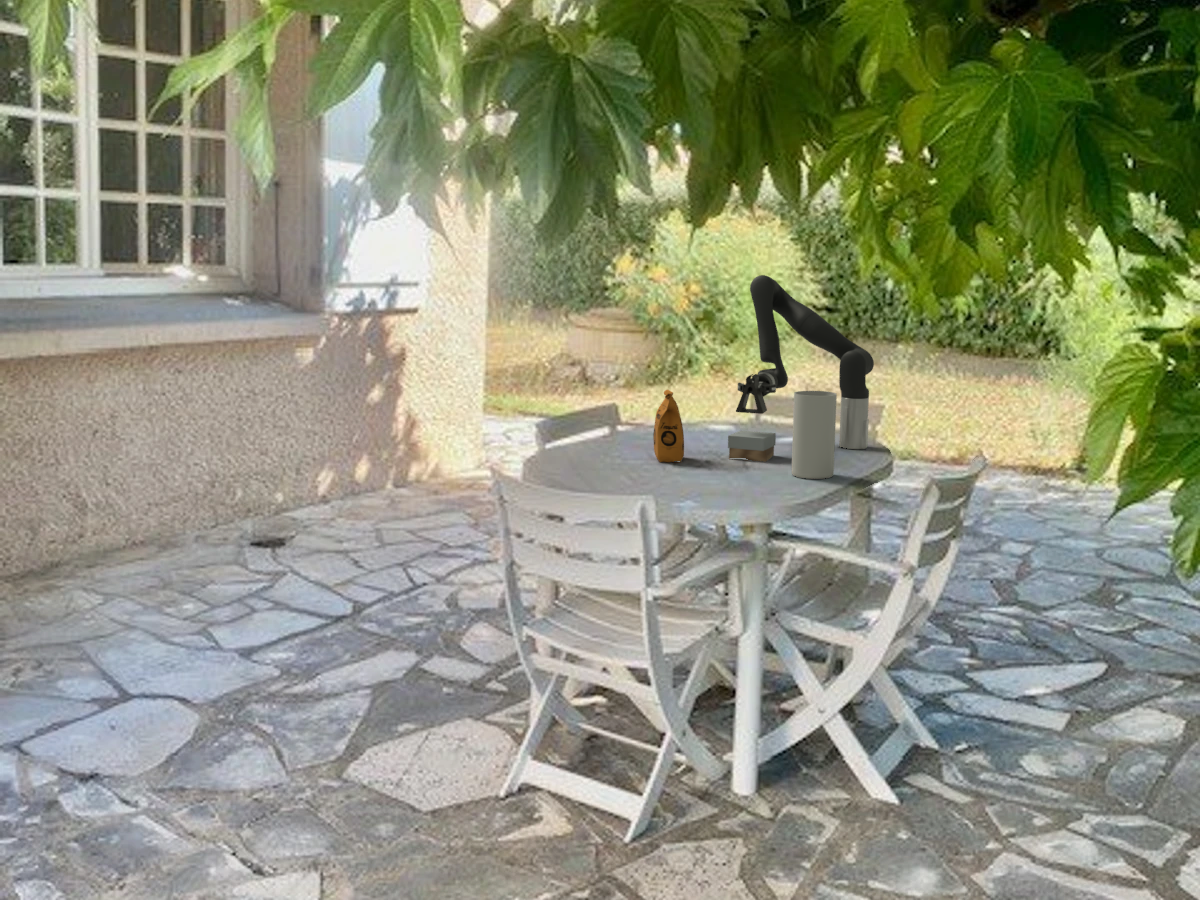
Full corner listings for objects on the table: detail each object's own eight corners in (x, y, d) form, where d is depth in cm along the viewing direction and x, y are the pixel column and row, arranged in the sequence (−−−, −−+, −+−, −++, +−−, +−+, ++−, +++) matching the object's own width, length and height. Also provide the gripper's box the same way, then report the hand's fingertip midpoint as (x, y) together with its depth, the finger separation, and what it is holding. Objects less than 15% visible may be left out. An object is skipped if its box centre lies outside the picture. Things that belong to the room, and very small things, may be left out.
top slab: (775, 445, 410) (775, 433, 409) (763, 450, 399) (763, 438, 399) (740, 442, 415) (740, 430, 414) (727, 447, 405) (728, 435, 404)
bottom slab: (773, 456, 412) (774, 444, 411) (765, 462, 401) (766, 450, 400) (737, 454, 416) (738, 442, 415) (729, 460, 405) (729, 448, 404)
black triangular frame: (735, 412, 406) (736, 375, 404) (740, 409, 411) (741, 373, 409) (763, 413, 403) (764, 376, 401) (767, 411, 408) (768, 374, 406)
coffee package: (652, 462, 398) (653, 393, 394) (653, 455, 410) (654, 388, 406) (684, 463, 397) (685, 394, 393) (683, 456, 409) (685, 389, 405)
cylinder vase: (829, 481, 370) (832, 397, 366) (787, 477, 375) (790, 394, 370) (836, 473, 382) (840, 391, 377) (796, 470, 386) (798, 389, 382)
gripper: (742, 372, 421) (730, 378, 405) (782, 374, 417) (771, 380, 400) (741, 394, 422) (729, 401, 406) (781, 396, 418) (771, 403, 402)
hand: (750, 391), depth 403 cm, fingers closed on black triangular frame, 1 cm apart
